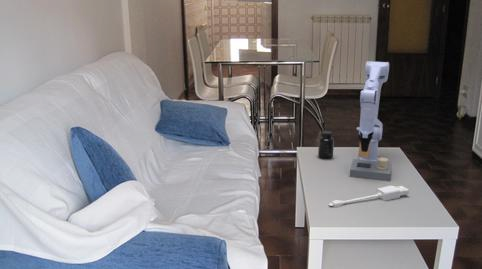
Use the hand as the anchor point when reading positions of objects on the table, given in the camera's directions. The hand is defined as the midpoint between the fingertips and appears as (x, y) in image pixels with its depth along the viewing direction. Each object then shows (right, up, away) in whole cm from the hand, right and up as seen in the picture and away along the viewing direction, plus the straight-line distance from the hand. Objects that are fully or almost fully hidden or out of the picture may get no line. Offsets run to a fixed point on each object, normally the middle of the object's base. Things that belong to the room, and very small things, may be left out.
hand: (364, 149), depth 205 cm
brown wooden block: (0, -3, +1) cm, 3 cm away
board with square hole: (+3, -10, +2) cm, 10 cm away
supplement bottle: (-13, -4, +21) cm, 25 cm away
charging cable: (-4, -18, -24) cm, 31 cm away
